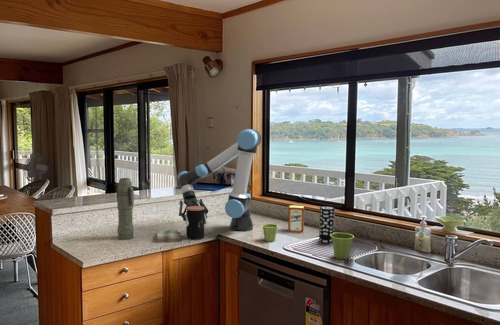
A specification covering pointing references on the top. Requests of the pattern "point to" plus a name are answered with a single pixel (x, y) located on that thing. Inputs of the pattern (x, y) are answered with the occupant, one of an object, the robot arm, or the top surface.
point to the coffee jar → (195, 222)
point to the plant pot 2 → (342, 244)
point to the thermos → (125, 209)
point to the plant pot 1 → (269, 231)
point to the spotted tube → (326, 224)
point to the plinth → (167, 236)
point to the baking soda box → (296, 218)
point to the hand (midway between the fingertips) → (197, 224)
